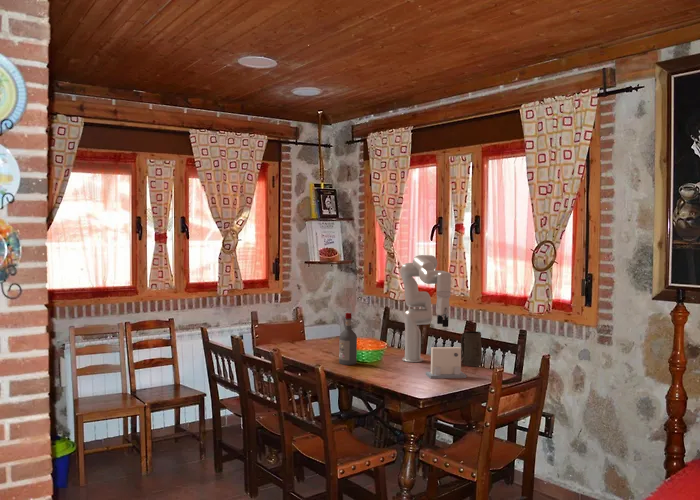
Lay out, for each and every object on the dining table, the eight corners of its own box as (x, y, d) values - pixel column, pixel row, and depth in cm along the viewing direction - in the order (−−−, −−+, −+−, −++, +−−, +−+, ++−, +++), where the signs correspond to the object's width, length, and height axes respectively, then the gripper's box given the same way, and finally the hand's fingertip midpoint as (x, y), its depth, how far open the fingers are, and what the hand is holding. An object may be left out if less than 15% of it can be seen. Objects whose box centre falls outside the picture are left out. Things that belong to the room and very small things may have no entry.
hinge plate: (425, 374, 334) (425, 364, 334) (460, 373, 336) (460, 363, 336) (430, 378, 324) (430, 368, 324) (466, 377, 326) (466, 367, 326)
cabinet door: (430, 372, 330) (431, 347, 330) (458, 372, 333) (459, 347, 333) (432, 374, 326) (433, 348, 326) (461, 374, 329) (461, 348, 328)
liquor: (346, 365, 353) (347, 314, 353) (337, 363, 360) (337, 312, 360) (358, 363, 359) (359, 313, 359) (348, 361, 366) (349, 311, 366)
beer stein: (486, 365, 361) (484, 331, 362) (475, 367, 354) (473, 333, 355) (465, 362, 373) (464, 330, 374) (454, 364, 366) (453, 331, 366)
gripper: (432, 292, 340) (431, 322, 340) (441, 296, 323) (440, 328, 323) (445, 292, 341) (444, 322, 341) (455, 296, 324) (454, 328, 324)
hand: (442, 325), depth 332 cm, fingers open, 9 cm apart
